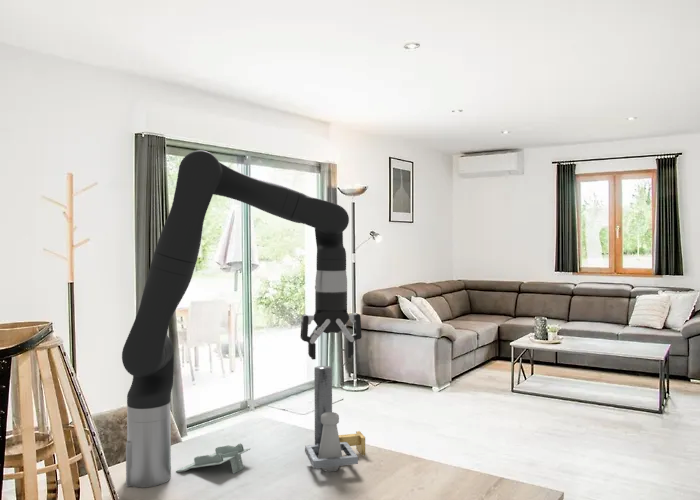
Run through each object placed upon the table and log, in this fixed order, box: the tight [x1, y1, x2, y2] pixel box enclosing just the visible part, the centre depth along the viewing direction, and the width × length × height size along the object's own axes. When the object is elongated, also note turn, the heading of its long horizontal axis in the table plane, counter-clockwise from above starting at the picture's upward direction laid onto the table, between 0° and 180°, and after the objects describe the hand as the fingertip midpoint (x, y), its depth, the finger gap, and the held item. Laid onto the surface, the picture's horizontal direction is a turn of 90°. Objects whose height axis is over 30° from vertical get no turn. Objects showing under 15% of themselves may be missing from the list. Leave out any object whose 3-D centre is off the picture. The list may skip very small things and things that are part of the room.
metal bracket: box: [175, 442, 251, 475], centre depth 138 cm, size 14×6×15 cm
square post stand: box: [304, 365, 366, 469], centre depth 141 cm, size 15×18×22 cm
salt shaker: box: [318, 411, 343, 472], centre depth 136 cm, size 6×6×13 cm
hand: (331, 358), depth 136 cm, fingers open, 8 cm apart
